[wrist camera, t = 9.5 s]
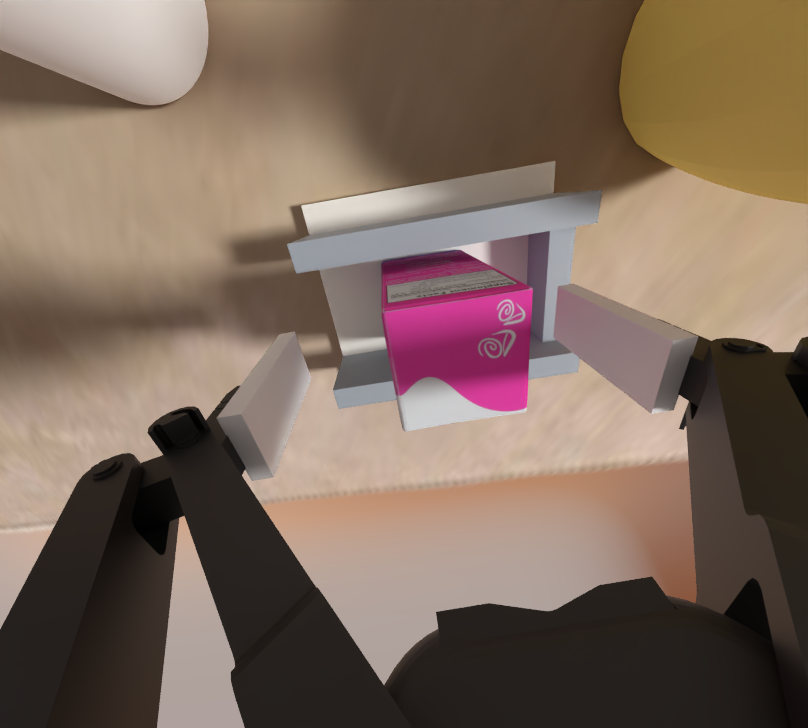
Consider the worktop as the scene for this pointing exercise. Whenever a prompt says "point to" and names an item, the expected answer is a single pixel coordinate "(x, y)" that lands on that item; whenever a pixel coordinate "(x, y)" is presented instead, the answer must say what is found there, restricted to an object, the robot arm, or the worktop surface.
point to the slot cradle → (434, 233)
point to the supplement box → (455, 338)
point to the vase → (722, 91)
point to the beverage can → (112, 43)
